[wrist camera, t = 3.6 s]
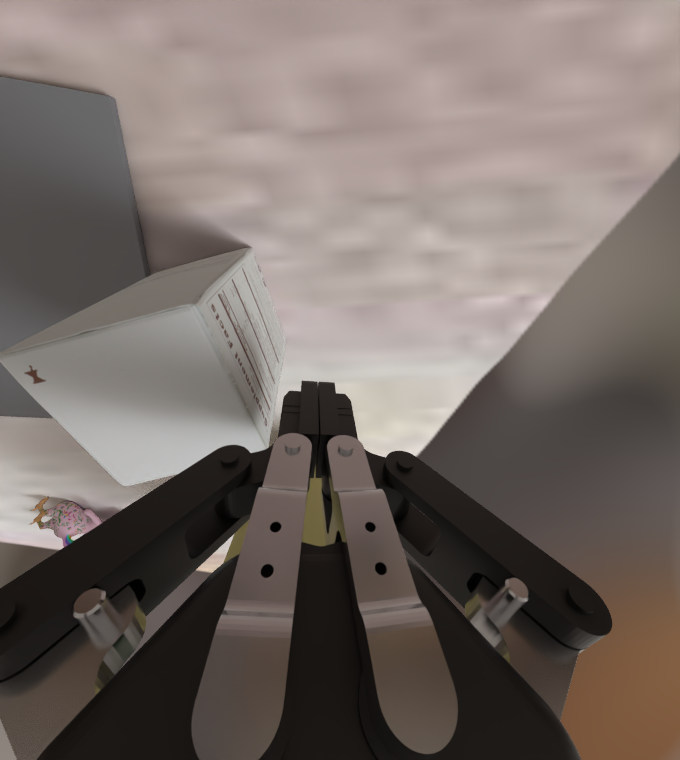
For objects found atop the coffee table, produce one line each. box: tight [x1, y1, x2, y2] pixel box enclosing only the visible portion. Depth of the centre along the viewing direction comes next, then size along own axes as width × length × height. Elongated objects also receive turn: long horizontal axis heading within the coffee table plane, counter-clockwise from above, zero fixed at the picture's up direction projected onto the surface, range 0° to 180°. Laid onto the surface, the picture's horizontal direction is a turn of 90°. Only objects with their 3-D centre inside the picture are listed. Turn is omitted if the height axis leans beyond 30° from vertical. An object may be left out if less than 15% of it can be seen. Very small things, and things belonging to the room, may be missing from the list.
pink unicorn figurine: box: [30, 496, 103, 547], centre depth 32 cm, size 6×6×15 cm
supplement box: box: [0, 247, 286, 487], centre depth 17 cm, size 7×7×13 cm
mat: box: [0, 76, 150, 418], centre depth 20 cm, size 22×18×1 cm
